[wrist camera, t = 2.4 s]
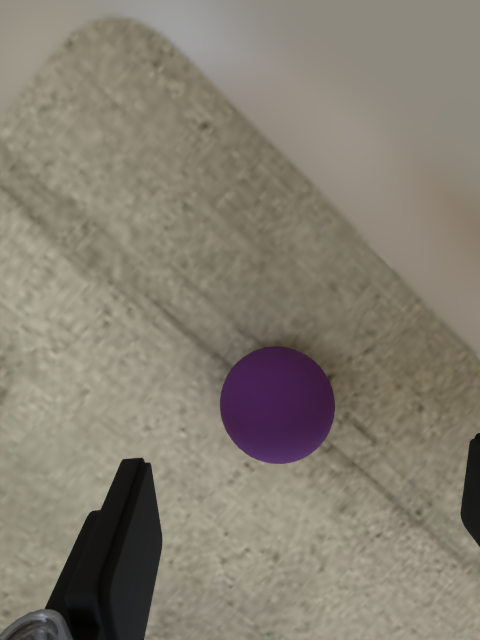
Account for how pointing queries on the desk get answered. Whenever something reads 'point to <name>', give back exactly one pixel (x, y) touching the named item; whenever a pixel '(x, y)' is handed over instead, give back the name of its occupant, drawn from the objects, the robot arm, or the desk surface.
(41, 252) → the desk surface
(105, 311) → the desk surface
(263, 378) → the ball
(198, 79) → the desk surface
